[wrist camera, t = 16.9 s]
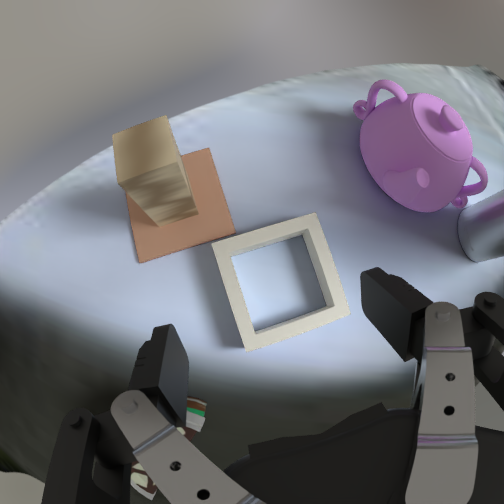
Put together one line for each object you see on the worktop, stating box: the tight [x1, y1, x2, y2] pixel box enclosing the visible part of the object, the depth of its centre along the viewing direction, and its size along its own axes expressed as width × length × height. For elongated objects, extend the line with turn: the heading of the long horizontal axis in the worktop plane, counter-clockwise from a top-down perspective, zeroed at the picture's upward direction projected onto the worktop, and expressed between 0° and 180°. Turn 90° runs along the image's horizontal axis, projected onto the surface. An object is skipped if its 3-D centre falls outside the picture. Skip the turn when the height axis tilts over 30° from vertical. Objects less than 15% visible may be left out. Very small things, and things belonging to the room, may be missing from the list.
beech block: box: [112, 115, 199, 227], centre depth 27 cm, size 5×5×13 cm
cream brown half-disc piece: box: [131, 396, 207, 500], centre depth 24 cm, size 12×6×10 cm, turn 150°
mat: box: [125, 148, 236, 263], centre depth 33 cm, size 12×12×1 cm
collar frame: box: [211, 212, 351, 352], centre depth 31 cm, size 12×12×3 cm
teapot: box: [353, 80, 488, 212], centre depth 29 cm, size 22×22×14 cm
